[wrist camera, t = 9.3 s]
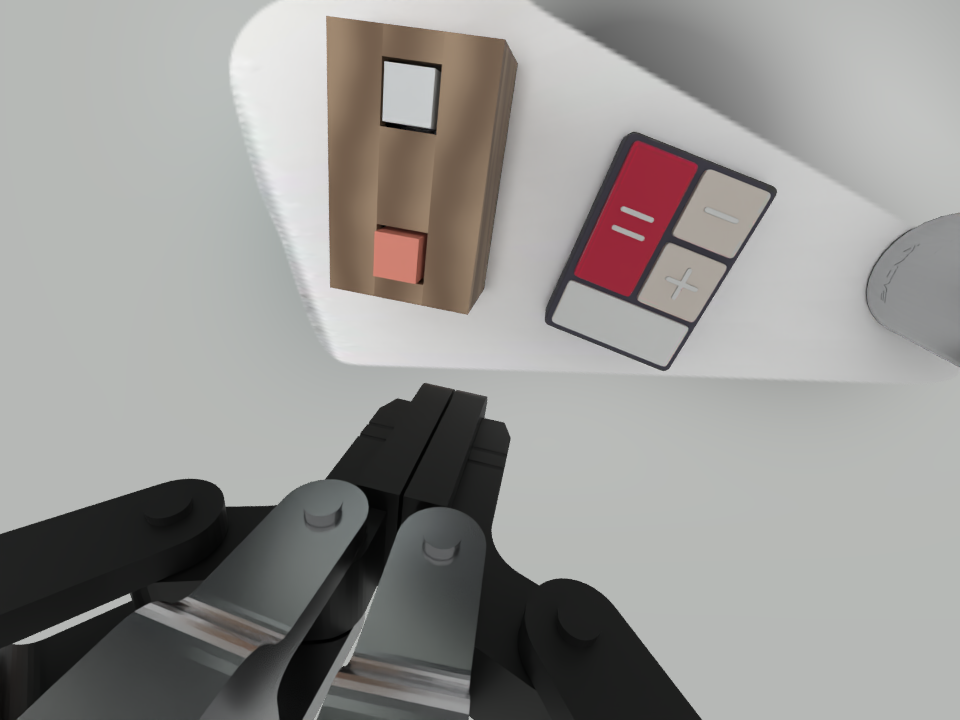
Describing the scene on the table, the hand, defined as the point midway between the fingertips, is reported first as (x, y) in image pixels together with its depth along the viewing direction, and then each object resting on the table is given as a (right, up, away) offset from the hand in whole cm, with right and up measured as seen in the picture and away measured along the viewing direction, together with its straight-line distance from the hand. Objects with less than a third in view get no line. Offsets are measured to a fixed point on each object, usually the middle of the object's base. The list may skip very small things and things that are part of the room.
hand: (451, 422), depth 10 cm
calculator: (+14, +10, +25) cm, 31 cm away
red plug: (-4, +12, +26) cm, 29 cm away
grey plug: (-2, +21, +23) cm, 31 cm away
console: (-3, +16, +25) cm, 30 cm away
